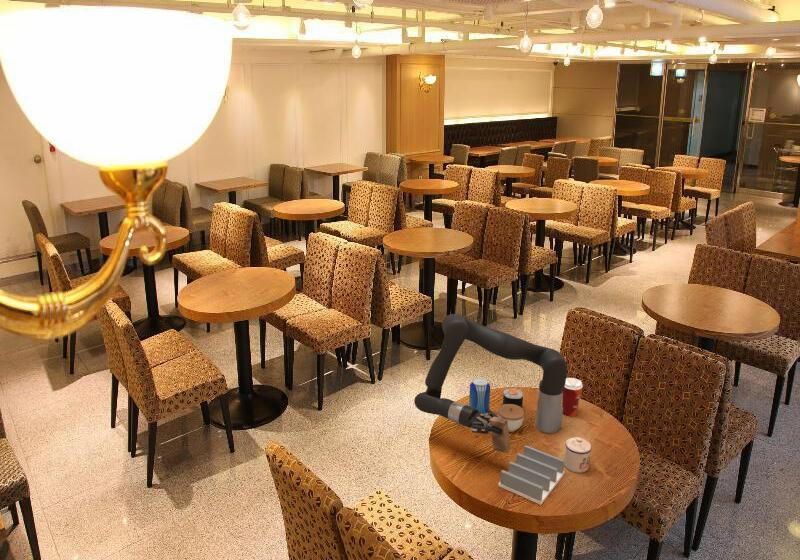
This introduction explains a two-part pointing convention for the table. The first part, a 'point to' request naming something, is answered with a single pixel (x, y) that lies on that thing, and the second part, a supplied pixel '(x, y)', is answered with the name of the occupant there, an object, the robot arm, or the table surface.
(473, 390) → the beer can
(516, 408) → the lidded jar
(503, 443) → the walnut board
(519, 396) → the sushi
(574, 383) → the coffee cup
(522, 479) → the rack
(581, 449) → the teacup with lid
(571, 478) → the table surface
